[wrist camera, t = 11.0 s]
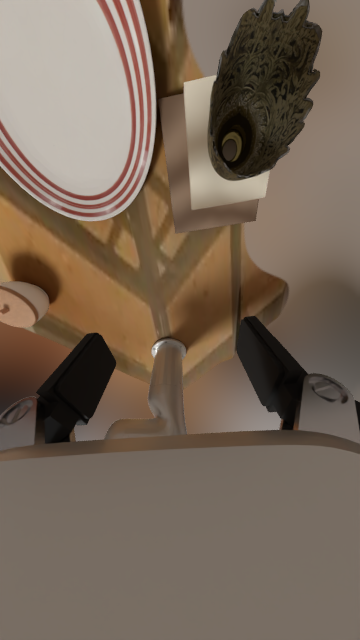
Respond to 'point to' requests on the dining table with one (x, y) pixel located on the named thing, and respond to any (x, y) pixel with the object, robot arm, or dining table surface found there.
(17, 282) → the lidded jar
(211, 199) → the cream pedestal stand
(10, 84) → the dinner plate
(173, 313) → the dining table surface
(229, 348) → the dining table surface
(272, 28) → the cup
